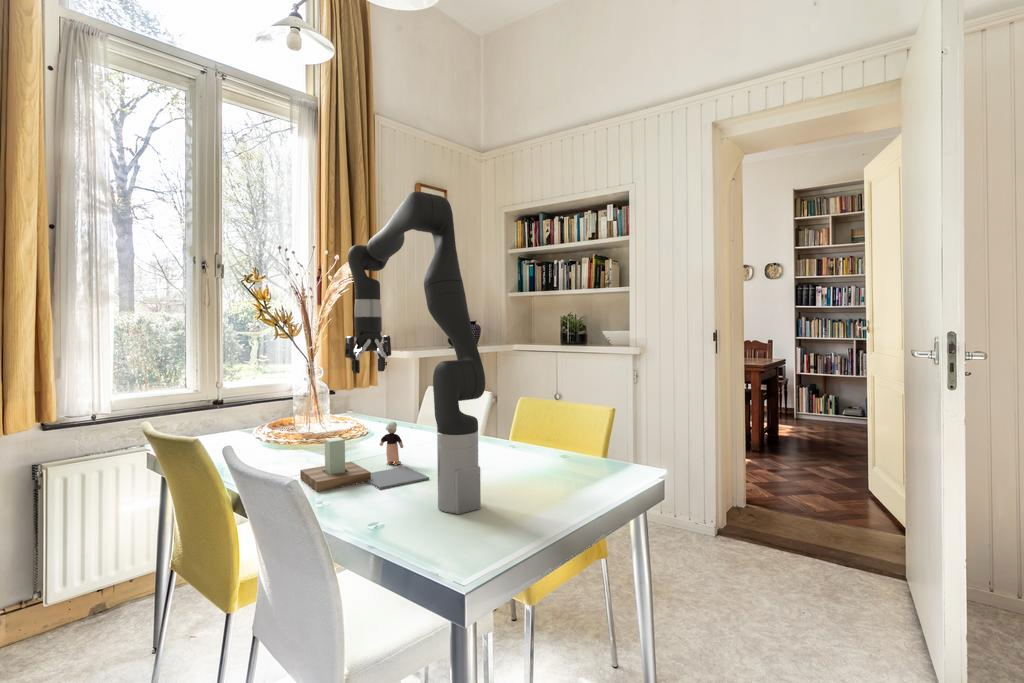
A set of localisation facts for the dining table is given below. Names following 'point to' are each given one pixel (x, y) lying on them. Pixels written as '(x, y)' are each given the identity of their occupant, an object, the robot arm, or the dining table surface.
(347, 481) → the walnut pocket block
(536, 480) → the dining table surface
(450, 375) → the robot arm
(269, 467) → the dining table surface
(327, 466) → the sage peg
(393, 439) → the grandmother figurine
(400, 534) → the dining table surface
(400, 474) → the slate mat
